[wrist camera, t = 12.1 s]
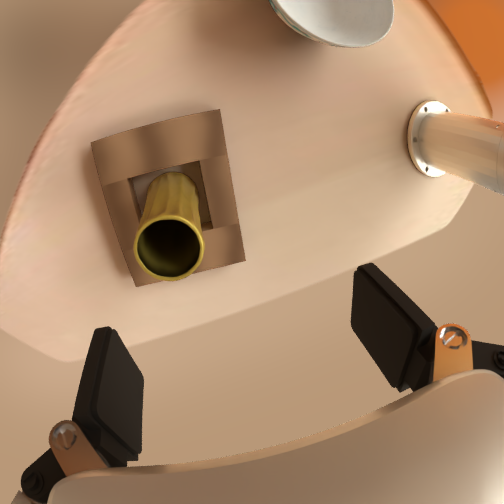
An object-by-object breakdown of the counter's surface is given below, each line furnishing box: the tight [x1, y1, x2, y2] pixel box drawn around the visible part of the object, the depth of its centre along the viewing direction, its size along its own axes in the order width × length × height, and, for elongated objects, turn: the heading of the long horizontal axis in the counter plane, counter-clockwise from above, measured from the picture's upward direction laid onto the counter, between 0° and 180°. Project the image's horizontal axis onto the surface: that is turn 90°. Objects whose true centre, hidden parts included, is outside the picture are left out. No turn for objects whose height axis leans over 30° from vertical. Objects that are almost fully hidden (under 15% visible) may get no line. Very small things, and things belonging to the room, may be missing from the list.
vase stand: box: [91, 109, 246, 287], centre depth 31 cm, size 14×18×2 cm
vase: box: [133, 172, 205, 281], centre depth 26 cm, size 6×6×14 cm
